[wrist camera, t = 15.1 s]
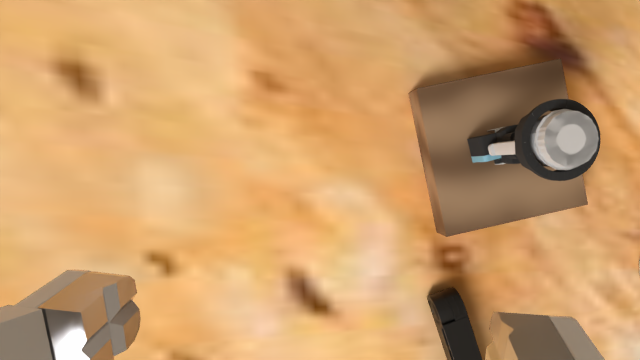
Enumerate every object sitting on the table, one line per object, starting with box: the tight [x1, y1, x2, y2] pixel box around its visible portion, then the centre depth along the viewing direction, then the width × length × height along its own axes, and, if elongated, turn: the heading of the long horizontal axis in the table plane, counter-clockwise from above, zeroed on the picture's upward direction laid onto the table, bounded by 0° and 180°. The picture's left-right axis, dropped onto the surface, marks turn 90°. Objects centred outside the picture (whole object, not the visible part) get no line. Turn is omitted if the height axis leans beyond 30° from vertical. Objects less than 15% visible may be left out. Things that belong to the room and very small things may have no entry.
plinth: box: [409, 59, 588, 237], centre depth 37 cm, size 13×13×2 cm
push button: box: [467, 99, 600, 181], centre depth 31 cm, size 7×5×10 cm
